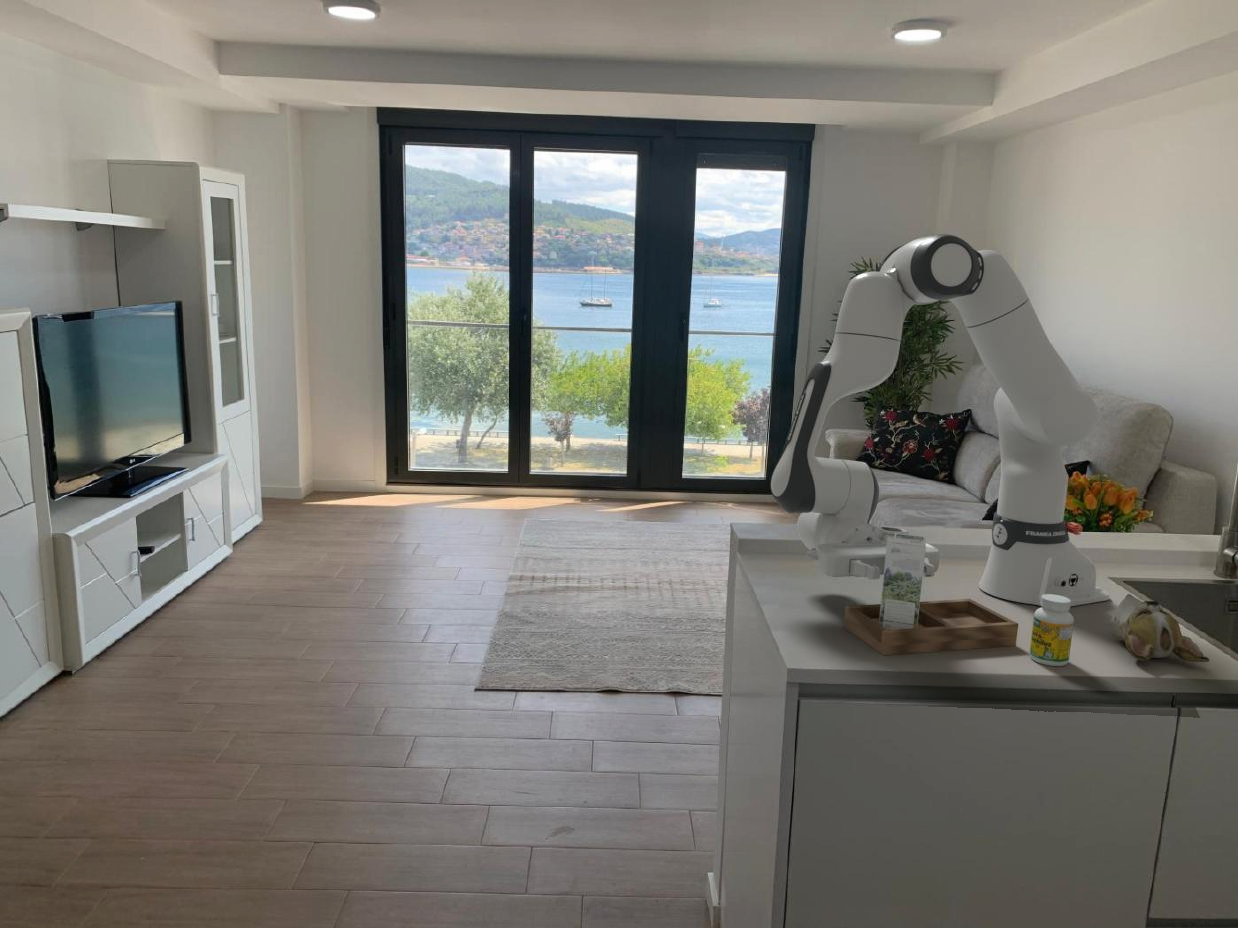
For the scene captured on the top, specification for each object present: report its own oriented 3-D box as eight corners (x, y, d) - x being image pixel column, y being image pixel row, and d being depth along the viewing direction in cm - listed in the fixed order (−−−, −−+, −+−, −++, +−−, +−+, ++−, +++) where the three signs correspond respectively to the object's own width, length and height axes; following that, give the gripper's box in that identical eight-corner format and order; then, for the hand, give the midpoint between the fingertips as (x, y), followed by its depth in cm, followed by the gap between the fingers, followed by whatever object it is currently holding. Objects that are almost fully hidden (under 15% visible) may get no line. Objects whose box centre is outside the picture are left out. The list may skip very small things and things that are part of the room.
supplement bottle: (1076, 664, 140) (1084, 602, 138) (1049, 668, 138) (1057, 605, 136) (1047, 651, 145) (1055, 591, 143) (1020, 655, 143) (1028, 594, 141)
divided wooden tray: (967, 618, 158) (970, 598, 158) (1015, 645, 147) (1018, 623, 146) (843, 626, 152) (845, 606, 151) (883, 655, 141) (885, 632, 140)
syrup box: (917, 624, 150) (926, 534, 147) (916, 636, 144) (926, 544, 141) (879, 619, 151) (888, 530, 149) (877, 631, 146) (886, 539, 143)
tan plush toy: (1163, 585, 151) (1221, 623, 137) (1154, 635, 154) (1210, 678, 139) (1096, 583, 151) (1147, 621, 137) (1088, 633, 153) (1137, 676, 139)
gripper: (802, 532, 156) (844, 555, 143) (912, 528, 161) (962, 550, 148) (799, 569, 157) (841, 596, 144) (908, 564, 162) (958, 589, 149)
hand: (903, 573), depth 146 cm, fingers open, 8 cm apart
